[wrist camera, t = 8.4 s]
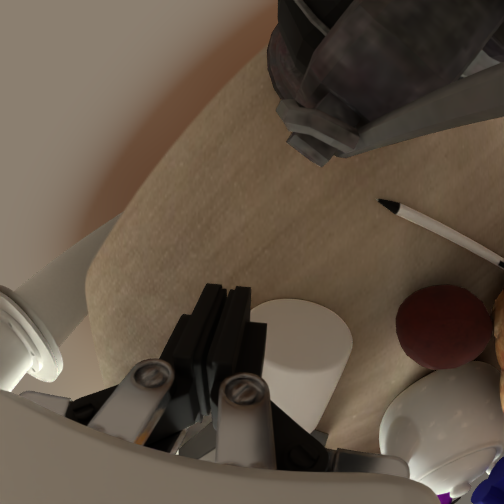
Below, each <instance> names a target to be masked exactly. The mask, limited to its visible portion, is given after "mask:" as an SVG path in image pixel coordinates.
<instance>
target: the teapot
mask: <svg viewBox="0 0 504 504" xmlns="http://www.w3.org/2000/svg"><path fill="white" fill-rule="evenodd" d="M500 375H501V373H500V372H499V371H498V370H497V369H496V368H495V367H493V366H492V365H490V364H488V363H485V362H480V361H470V362H468V363H467V364H464V365H462V366H460V367H458V368H453V369H441V370H437V371H435V372H433V373H431V374H429V375H427V376H425V377H423V378H422V379H420V380H418V381H417V382H415V383H414V384H412V385H411V386H409V387H408V388H407V389H405V390H404V391H403V392H402V393H401V394H399V395H398V396H397V397H396V398H395V399H394V400H393V402H392V403H391V404H390V405H389V407H388V408H387V410H386V412H385V414H384V416H383V418H382V421H381V425H380V432H379V443H380V449H381V454H383V455H393V456H397V457H400V458H402V459H403V460H404V461H406V463H407V464H408V466H409V469H410V479H412V480H415V481H418V482H420V483H423V484H425V485H426V486H428V487H430V488H431V489H432V490H433V491H434V492H435V494H436V495H439V494H444V493H448V492H450V497H451V498H456V497H459V496H462V495H464V494H466V493H467V492H468V491H469V490H470V489H471V485H470V484H469V483H471V482H472V481H474V480H475V479H477V478H478V477H479V476H481V475H482V474H483V473H484V472H485V471H486V472H487V473H488V475H489V474H490V472H491V470H492V469H493V467H494V466H495V464H496V463H495V460H496V459H497V458H498V457H499V456H500V455H501V453H503V457H504V413H503V410H502V407H501V400H500V389H499V384H500Z"/></svg>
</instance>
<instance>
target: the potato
mask: <svg viewBox="0 0 504 504" xmlns="http://www.w3.org/2000/svg"><path fill="white" fill-rule="evenodd" d="M492 331H493V323H492V320H491V317H490V315H489V313H488V311H487V309H486V307H485V306H484V304H483V302H482V301H481V300H480V299H479V298H477V297H476V296H475V295H474V294H472V293H471V292H470V291H468V290H467V289H465V288H462V287H459V286H453V285H448V284H447V285H436V286H430V287H426V288H423V289H420V290H418V291H416V292H414V293H413V294H411V295H410V296H409V297H407V298H406V299H405V300H404V301H403V303H402V304H401V305H400V307H399V309H398V312H397V316H396V333H397V336H398V340H399V342H400V345H401V347H402V349H403V350H404V352H405V353H406V355H407V356H409V357H410V358H411V359H413V360H414V361H415V362H417V363H418V364H419V365H421V366H423V367H426V368H429V369H432V370H441V369H453V368H458V367H460V366H462V365H464V364H467V363H468V362H470V361H472V360H473V359H475V358H476V357H477V356H478V355H479V354H480V353H481V352H483V351H484V349H485V347H486V346H487V344H488V342H489V340H490V339H491V337H492Z"/></svg>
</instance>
